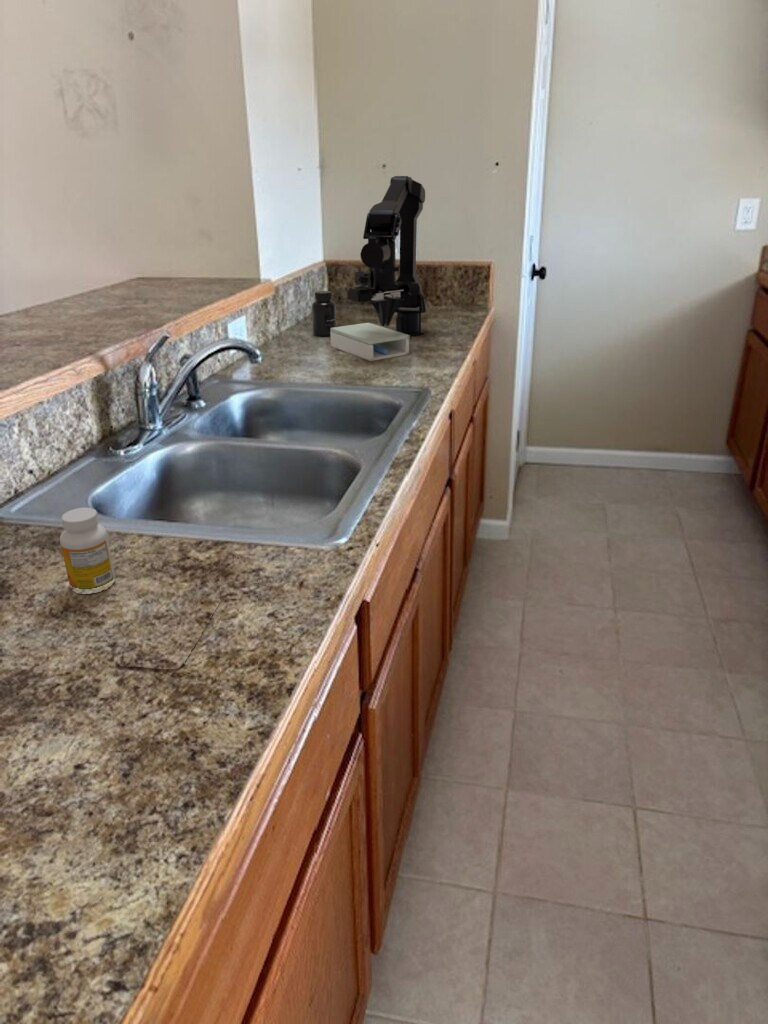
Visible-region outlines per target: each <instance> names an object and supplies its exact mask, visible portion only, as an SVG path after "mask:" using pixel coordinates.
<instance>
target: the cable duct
mask: <svg viewBox="0 0 768 1024" xmlns="http://www.w3.org/2000/svg"><path fill="white" fill-rule="evenodd" d="M329 337H330V346H331V347H332V348H335V349H338V350H340V351H342V352H345V353H348V354H351V355H354V356H356V357H359V358H360V359H363V360H366V361H369V362H372V361H378V360H379V361H380V360H384V359H389V358H395V357H399V356H406V355H409V354H410V338H407V339H400V340H394V341H388V342H382V343H375V344H367V343H364V342H361V341H358V340H355V339H352V338H349V337H347V336H344V335H341V334H338V333H335V332H332V331H330V336H329Z"/></svg>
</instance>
